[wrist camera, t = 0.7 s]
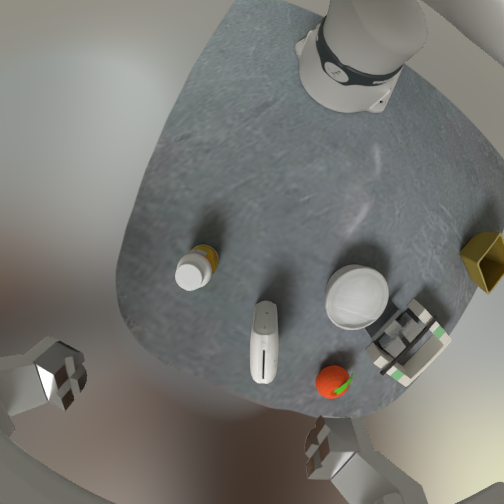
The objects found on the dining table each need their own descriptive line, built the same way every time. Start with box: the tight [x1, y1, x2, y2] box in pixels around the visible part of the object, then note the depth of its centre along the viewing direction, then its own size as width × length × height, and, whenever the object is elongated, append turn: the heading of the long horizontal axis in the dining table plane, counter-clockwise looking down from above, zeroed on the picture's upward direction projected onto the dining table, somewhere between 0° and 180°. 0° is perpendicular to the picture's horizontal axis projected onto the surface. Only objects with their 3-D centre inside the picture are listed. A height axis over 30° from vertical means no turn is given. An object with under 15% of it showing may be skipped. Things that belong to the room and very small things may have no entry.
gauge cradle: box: [366, 299, 452, 387], centre depth 46 cm, size 14×13×5 cm
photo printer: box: [250, 301, 279, 384], centre depth 43 cm, size 10×4×12 cm, turn 0°
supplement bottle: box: [175, 244, 219, 291], centre depth 42 cm, size 5×5×10 cm
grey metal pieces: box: [365, 299, 438, 375], centre depth 45 cm, size 15×10×6 cm
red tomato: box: [316, 365, 353, 399], centre depth 47 cm, size 8×7×7 cm
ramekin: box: [325, 264, 389, 330], centre depth 44 cm, size 11×11×5 cm
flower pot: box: [460, 232, 504, 294], centre depth 39 cm, size 9×9×9 cm
